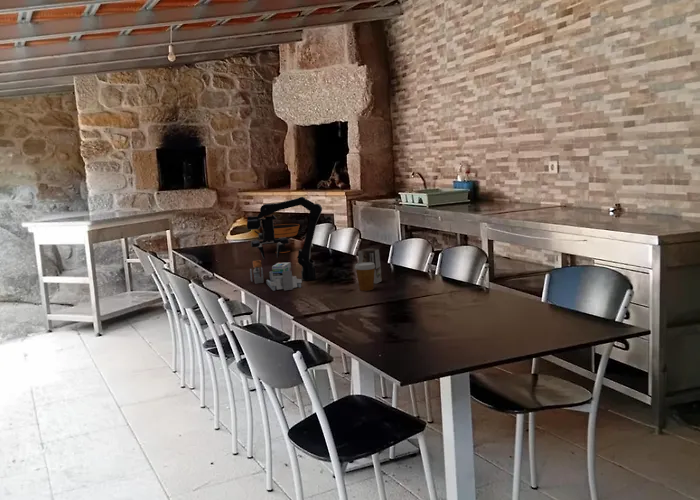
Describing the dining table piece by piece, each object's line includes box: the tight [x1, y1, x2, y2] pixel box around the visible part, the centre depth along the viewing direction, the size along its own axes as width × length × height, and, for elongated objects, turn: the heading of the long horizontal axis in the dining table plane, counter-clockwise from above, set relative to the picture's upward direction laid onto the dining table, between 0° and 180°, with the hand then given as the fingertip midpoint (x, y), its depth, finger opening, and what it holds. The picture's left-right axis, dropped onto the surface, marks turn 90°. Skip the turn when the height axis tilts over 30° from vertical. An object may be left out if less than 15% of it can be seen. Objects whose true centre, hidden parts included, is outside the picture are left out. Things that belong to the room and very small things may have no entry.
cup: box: [254, 223, 308, 254], centre depth 443 cm, size 36×26×18 cm
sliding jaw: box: [270, 270, 303, 291], centre depth 314 cm, size 15×7×9 cm, turn 106°
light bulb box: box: [271, 261, 292, 288], centre depth 325 cm, size 11×7×11 cm, turn 168°
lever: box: [252, 259, 263, 275], centre depth 340 cm, size 4×10×4 cm
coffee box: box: [357, 248, 383, 284], centre depth 317 cm, size 9×6×16 cm
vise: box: [249, 267, 302, 292], centre depth 330 cm, size 20×33×6 cm, turn 16°
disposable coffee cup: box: [354, 262, 375, 292], centre depth 301 cm, size 10×10×12 cm
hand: (271, 258), depth 336 cm, fingers open, 7 cm apart
